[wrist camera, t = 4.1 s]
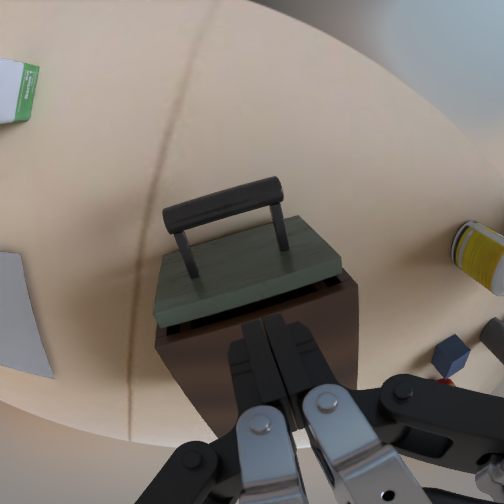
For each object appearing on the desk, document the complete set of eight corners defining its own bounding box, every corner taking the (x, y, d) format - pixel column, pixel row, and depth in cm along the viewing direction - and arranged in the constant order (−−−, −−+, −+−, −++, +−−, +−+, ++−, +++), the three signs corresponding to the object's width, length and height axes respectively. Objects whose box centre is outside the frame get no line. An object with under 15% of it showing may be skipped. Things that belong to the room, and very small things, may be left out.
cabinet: (164, 269, 24) (153, 347, 16) (304, 227, 25) (358, 284, 17) (215, 376, 31) (226, 448, 22) (321, 344, 32) (355, 407, 23)
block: (436, 345, 38) (451, 363, 34) (455, 333, 39) (470, 350, 35) (431, 362, 41) (445, 379, 36) (449, 351, 41) (463, 367, 37)
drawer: (141, 200, 21) (117, 240, 14) (287, 157, 21) (331, 176, 14) (213, 365, 29) (221, 427, 22) (317, 333, 30) (346, 387, 23)
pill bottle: (443, 266, 31) (505, 316, 21) (456, 218, 28) (528, 261, 18) (470, 262, 32) (527, 305, 22) (482, 219, 29) (546, 256, 19)
